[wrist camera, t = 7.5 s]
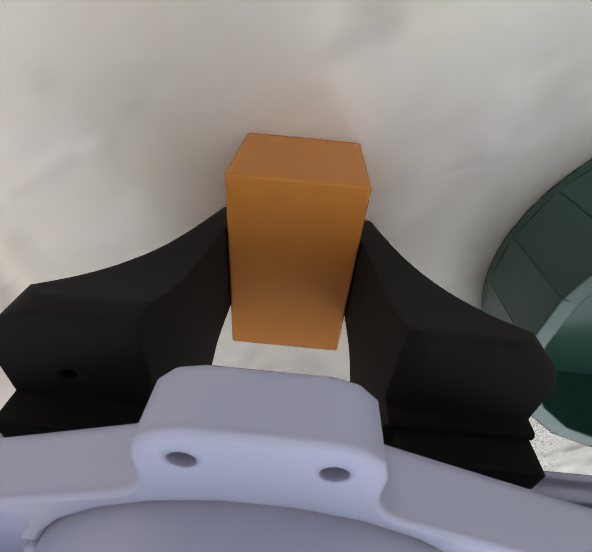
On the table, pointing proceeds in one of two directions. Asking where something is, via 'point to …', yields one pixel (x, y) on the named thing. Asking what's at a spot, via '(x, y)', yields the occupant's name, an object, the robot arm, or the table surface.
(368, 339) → the robot arm
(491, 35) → the table surface
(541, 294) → the tin
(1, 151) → the table surface
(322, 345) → the soap
